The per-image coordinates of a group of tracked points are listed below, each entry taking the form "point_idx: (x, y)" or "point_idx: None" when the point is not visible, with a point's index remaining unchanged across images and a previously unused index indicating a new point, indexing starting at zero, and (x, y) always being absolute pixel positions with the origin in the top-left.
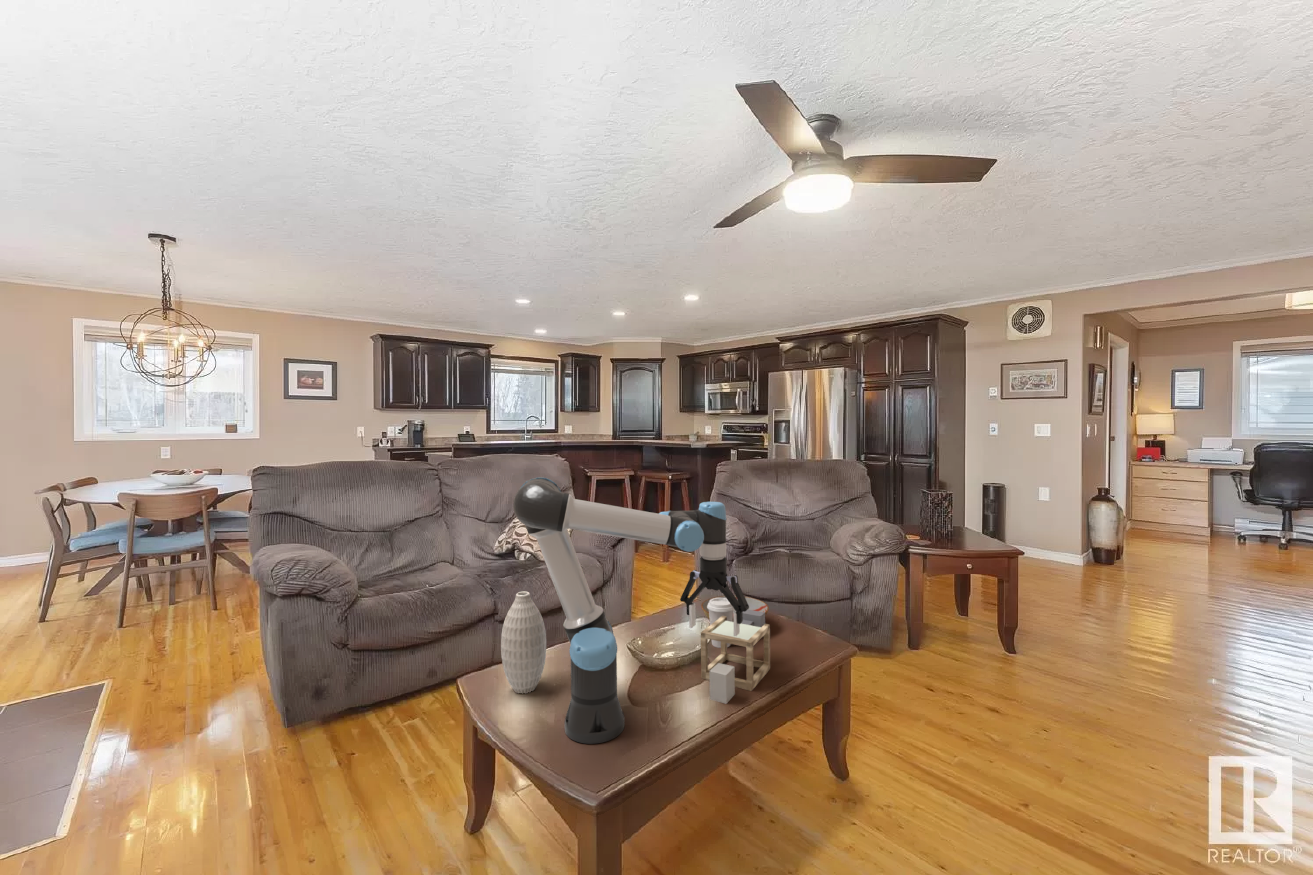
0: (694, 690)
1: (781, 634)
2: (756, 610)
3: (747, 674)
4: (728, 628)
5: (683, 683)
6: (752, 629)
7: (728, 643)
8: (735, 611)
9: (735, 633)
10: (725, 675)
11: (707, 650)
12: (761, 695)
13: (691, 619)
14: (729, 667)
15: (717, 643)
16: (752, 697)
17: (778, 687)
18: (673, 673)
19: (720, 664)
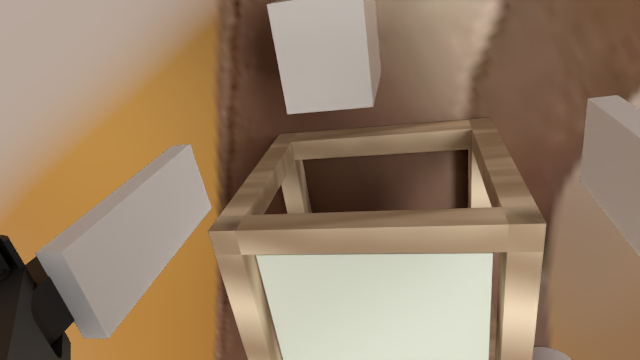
0: (467, 7)
1: None
2: None
3: (278, 155)
4: (423, 345)
5: (544, 32)
6: None
7: None
8: (79, 293)
9: (165, 152)
10: (270, 4)
11: (486, 190)
12: (238, 125)
13: (629, 126)
14: (300, 92)
15: (543, 358)
16: (253, 96)
17: (228, 199)
18: (632, 87)
19: (354, 96)
